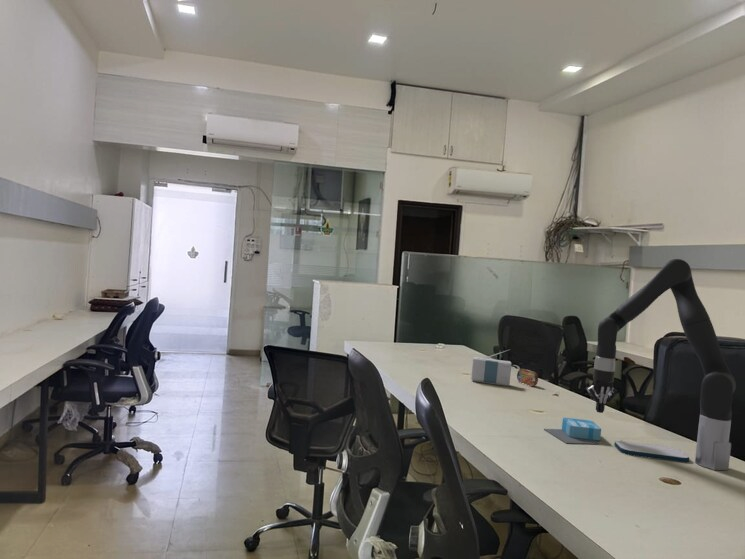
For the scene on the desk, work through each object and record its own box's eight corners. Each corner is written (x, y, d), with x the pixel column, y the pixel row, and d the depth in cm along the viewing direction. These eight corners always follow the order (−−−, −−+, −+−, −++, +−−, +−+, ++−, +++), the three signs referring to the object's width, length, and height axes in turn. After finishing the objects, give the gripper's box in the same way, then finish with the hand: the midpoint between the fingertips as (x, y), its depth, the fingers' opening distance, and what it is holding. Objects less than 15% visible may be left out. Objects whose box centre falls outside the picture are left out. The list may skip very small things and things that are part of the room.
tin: (516, 381, 304) (517, 367, 304) (520, 381, 305) (521, 367, 305) (534, 387, 290) (535, 372, 290) (538, 387, 291) (539, 372, 291)
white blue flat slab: (621, 455, 187) (622, 449, 187) (611, 444, 199) (612, 439, 199) (692, 464, 184) (692, 459, 184) (677, 453, 195) (678, 448, 195)
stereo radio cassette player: (470, 381, 291) (474, 346, 291) (472, 379, 299) (475, 344, 299) (509, 387, 285) (512, 351, 285) (509, 384, 293) (513, 349, 293)
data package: (602, 429, 199) (570, 425, 200) (601, 441, 199) (569, 437, 200) (592, 420, 211) (561, 417, 212) (590, 431, 211) (560, 428, 212)
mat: (599, 444, 196) (599, 443, 196) (566, 443, 193) (566, 442, 193) (575, 430, 212) (575, 429, 212) (543, 429, 209) (543, 428, 209)
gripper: (595, 369, 199) (590, 414, 200) (625, 371, 202) (620, 415, 202) (583, 365, 207) (579, 408, 207) (613, 367, 209) (608, 410, 210)
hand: (599, 412), depth 205 cm, fingers closed
